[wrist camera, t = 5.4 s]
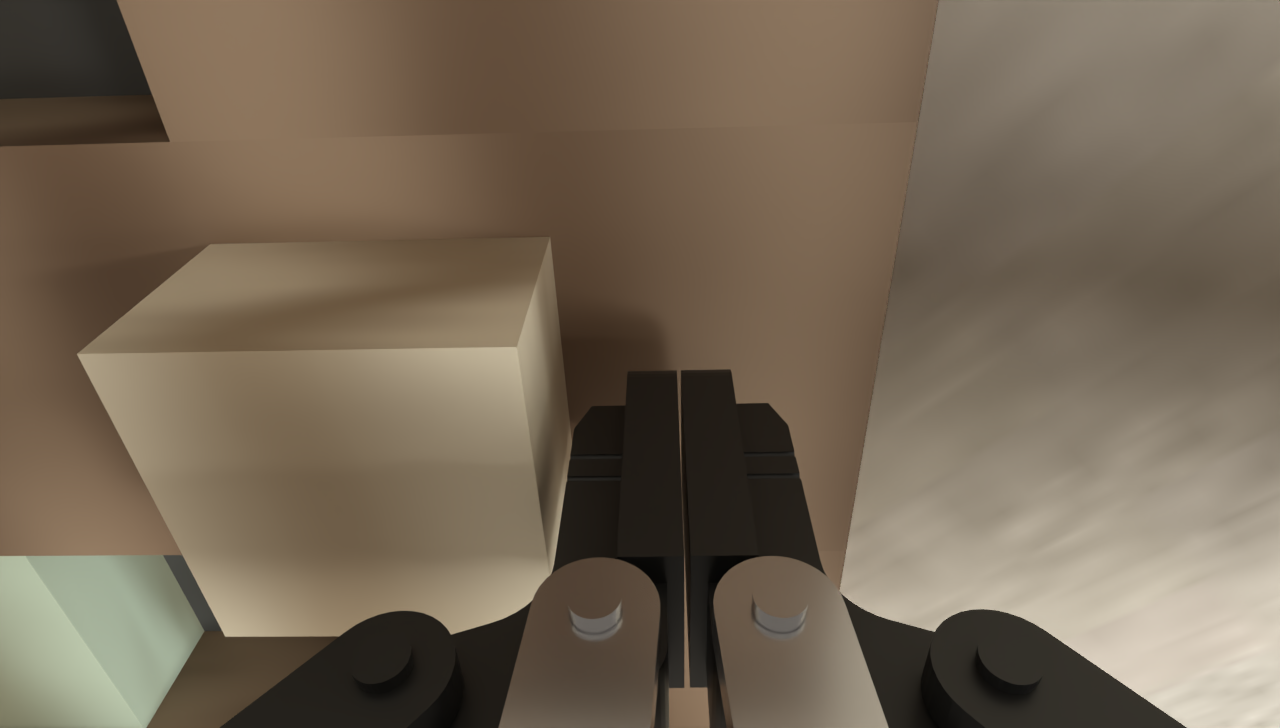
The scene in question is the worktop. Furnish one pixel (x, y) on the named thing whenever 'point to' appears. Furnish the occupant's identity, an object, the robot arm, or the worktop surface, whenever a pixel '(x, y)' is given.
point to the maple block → (350, 427)
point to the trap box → (419, 210)
